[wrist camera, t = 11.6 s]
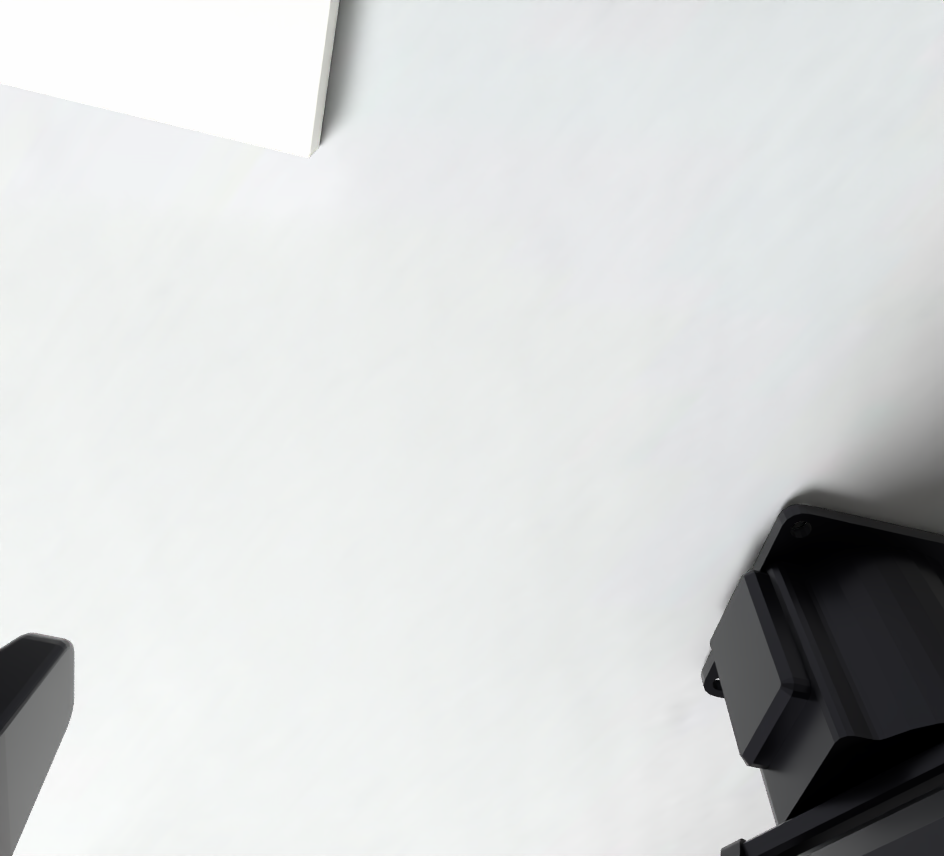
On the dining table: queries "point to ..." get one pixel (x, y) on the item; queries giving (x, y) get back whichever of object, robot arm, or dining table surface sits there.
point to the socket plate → (181, 62)
